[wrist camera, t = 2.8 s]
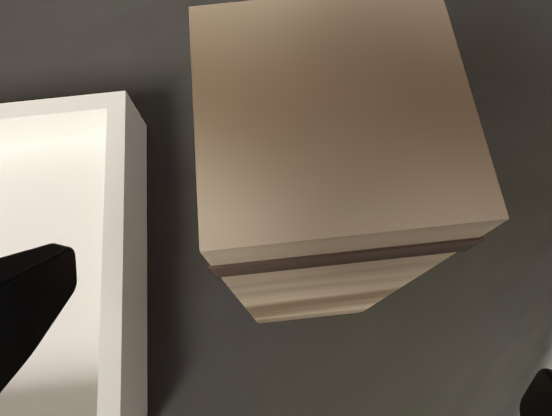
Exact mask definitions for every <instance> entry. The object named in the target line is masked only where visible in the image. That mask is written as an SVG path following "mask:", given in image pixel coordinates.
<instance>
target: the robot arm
mask: <svg viewBox="0 0 552 416" xmlns="http://www.w3.org/2000/svg"><path fill="white" fill-rule="evenodd" d="M76 285H77V270H76V256H75V251H74V250H73V249H72V248H71V247H68V246H65V245H61V244H57V243H50V244H47V245H43V246H40V247H36V248H33V249H29V250H25V251H22V252H18V253H15V254H11V255H8V256H4V257H1V258H0V393H1V392H2V390H3V389H4V388H5V387H6V386H7V384H8V383H9V382H10V381H11V379H12V378H13V377H14V376H15V375H16V373H17V372H18V371H19V370H20V369H21V367H22V366H23V365H24V364H25V362H26V361H27V360H28V359H29V357H30V356H31V355H32V353H33V352H34V350H35V349H36V348H37V346H38V345H39V343H40V342H41V340H42V339H43V337H44V336H45V334H46V333H47V332H48V330H49V329H50V327H51V326H52V324H53V323H54V321H55V320H56V318H57V317H58V315H59V314H60V312H61V311H62V309H63V308H64V306H65V305H66V303H67V302H68V300H69V299H70V297H71V296H72V294H73V293H74V291H75V288H76ZM520 416H552V370H550V369H541V370H540V371H538V373H537V374H536V375H535V377H534V379H533V380H532V382H531V384H530V385H529V387H528V389H527V390H526V392H525V394H524V395H523V397H522V399H521V402H520Z"/></svg>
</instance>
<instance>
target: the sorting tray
mask: <svg viewBox="0 0 552 416" xmlns="http://www.w3.org/2000/svg"><path fill="white" fill-rule="evenodd" d="M50 243H57V244H61V245H65V246H68V247H71V248H72V249H73V250H74V251H75V256H76V270H77V285H76V288H75V291H74V293H73V294H72V296H71V297H70V299H69V300H68V302H67V303H66V305H65V306H64V308H63V309H62V311H61V312H60V314H59V315H58V317H57V318H56V320H55V321H54V323H53V324H52V326H51V327H50V329H49V330H48V332H47V333H46V334H45V336H44V337H43V339H42V340H41V342H40V343H39V345H38V346H37V348H36V349H35V350H34V352H33V353H32V355H31V356H30V357H29V359H28V360H27V361H26V362H25V364H24V365H23V366H22V367H21V369H20V370H19V371H18V372H17V373H16V375H15V376H14V377H13V378H12V379H11V381H10V382H9V383H8V384H7V386H6V387H5V388H4V389H3V390H2V392H1V393H0V416H147V125H146V124H145V122H144V120H143V119H142V117H141V115H140V114H139V112H138V110H137V109H136V107H135V105H134V104H133V102H132V100H131V99H130V97H129V95H128V94H127V92H126V91H117V92H108V93H98V94H88V95H78V96H69V97H59V98H49V99H39V100H30V101H20V102H10V103H0V258H1V257H4V256H8V255H11V254H15V253H18V252H22V251H25V250H29V249H33V248H36V247H40V246H43V245H47V244H50Z"/></svg>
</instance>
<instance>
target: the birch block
mask: <svg viewBox="0 0 552 416" xmlns="http://www.w3.org/2000/svg"><path fill="white" fill-rule="evenodd" d="M189 24H190V47H191V69H192V92H193V115H194V137H195V160H196V182H197V205H198V227H199V250H200V253H201V254H202V255H203V256H204V258H205V259H206V260H207V261H208V269H209V271H210V272H211V273H212V274H213V275H214V276H215V277H216V278H219V277H221V279H222V280H223V281H224V282H225V283H226V285H227V286H228V287H229V288H230V290H231V291H232V292H233V293H234V295H235V296H236V297H237V298H238V299H239V301H240V302H241V303H242V304H243V306H244V307H245V308H246V309H247V311H248V312H249V313H250V314H251V315H252V317H253V318H254V319H255V320H256V322H257V323H266V322H275V321H285V320H294V319H303V318H312V317H322V316H331V315H340V314H349V313H359V312H363V311H365V310H366V309H368V308H369V307H371V306H373V305H374V304H376V303H377V302H379V301H380V300H382V299H384V298H385V297H387V296H388V295H390V294H391V293H393V292H395V291H396V290H398V289H399V288H401V287H403V286H404V285H406V284H407V283H409V282H410V281H412V280H414V279H415V278H417V277H418V276H420V275H421V274H423V273H425V272H426V271H428V270H429V269H431V268H432V267H434V266H436V265H437V264H439V263H440V262H442V261H443V260H445V259H447V258H448V257H450V256H451V255H453V254H455V253H456V252H463V251H466V250H468V249H470V248H471V247H473V246H475V245H476V244H478V243H479V242H481V241H483V240H484V238H483V235H484V234H486V233H488V232H489V231H491V230H492V229H494V228H495V227H497V226H499V225H500V224H502V223H503V222H505V221H507V220H508V219H509V216H508V213H507V209H506V206H505V203H504V199H503V196H502V193H501V189H500V186H499V183H498V179H497V176H496V173H495V169H494V166H493V163H492V159H491V156H490V153H489V149H488V146H487V143H486V139H485V136H484V132H483V129H482V126H481V122H480V119H479V116H478V112H477V109H476V106H475V102H474V99H473V96H472V92H471V89H470V86H469V82H468V79H467V76H466V72H465V69H464V66H463V62H462V59H461V56H460V52H459V49H458V46H457V42H456V39H455V35H454V32H453V29H452V25H451V22H450V19H449V15H448V12H447V9H446V5H445V2H444V0H251V1H241V2H231V3H221V4H211V5H201V6H191V7H189Z"/></svg>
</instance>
